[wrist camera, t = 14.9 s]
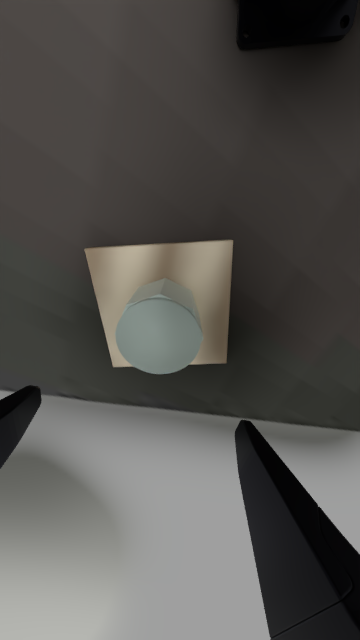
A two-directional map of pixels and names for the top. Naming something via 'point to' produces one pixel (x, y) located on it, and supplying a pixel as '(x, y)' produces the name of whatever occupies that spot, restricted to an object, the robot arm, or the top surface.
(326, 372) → the top surface
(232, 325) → the top surface
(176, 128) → the top surface
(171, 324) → the cap
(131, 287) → the holder
